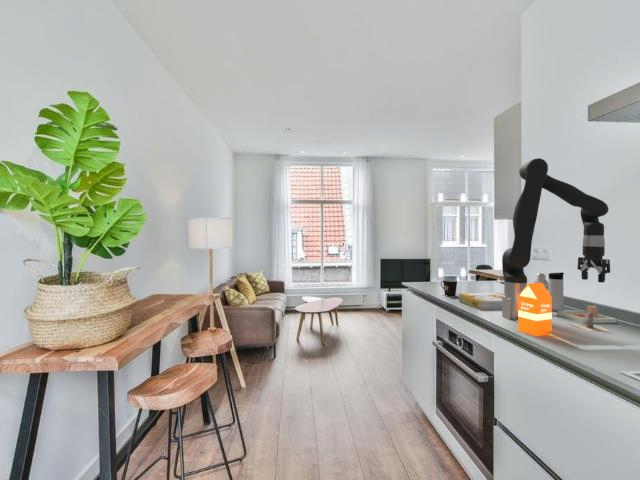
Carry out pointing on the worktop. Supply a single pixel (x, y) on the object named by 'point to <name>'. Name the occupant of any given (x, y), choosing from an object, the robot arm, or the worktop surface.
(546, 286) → the plastic bottle
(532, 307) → the orange juice
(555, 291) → the travel mug
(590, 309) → the collar
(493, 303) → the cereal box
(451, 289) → the coffee mug
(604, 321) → the tray
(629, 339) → the worktop surface
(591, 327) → the wooden peg stand
